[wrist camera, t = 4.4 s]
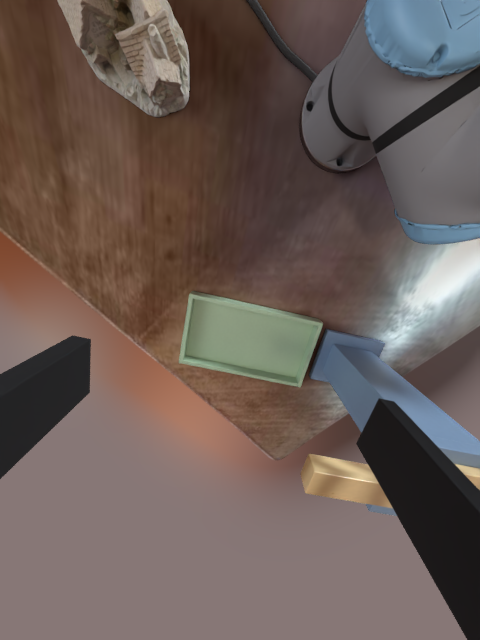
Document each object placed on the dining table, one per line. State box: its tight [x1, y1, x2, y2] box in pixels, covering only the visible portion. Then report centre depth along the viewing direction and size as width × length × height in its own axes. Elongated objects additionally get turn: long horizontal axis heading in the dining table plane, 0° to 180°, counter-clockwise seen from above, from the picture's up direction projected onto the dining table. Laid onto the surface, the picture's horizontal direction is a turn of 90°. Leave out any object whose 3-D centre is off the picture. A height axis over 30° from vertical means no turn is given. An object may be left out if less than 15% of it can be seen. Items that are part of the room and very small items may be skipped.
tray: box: [179, 291, 323, 387], centre depth 50 cm, size 28×16×3 cm, turn 77°
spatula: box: [301, 454, 480, 508], centre depth 23 cm, size 22×7×2 cm, turn 77°
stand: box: [309, 329, 480, 516], centre depth 38 cm, size 15×12×30 cm
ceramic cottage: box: [58, 0, 190, 117], centre depth 30 cm, size 16×16×15 cm
